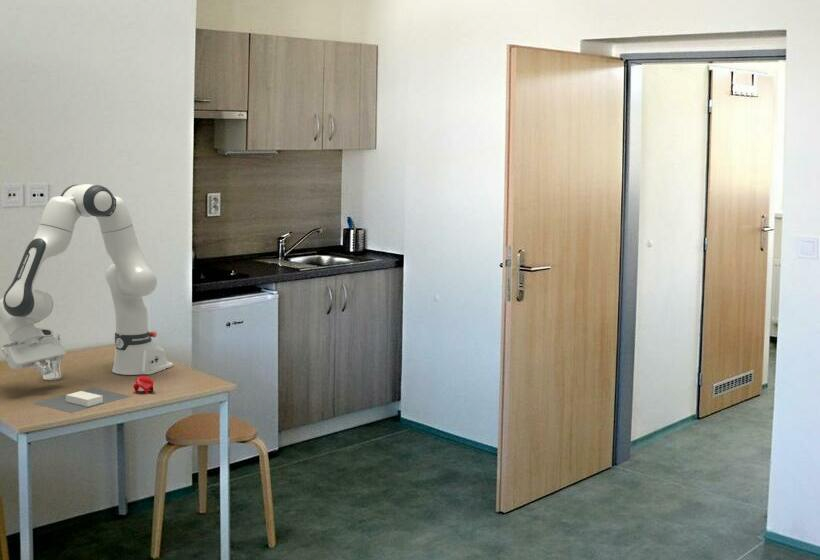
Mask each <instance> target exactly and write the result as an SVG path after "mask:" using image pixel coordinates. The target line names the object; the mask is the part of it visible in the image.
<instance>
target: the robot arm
mask: <svg viewBox="0 0 820 560" xmlns="http://www.w3.org/2000/svg"><path fill="white" fill-rule="evenodd" d="M80 217H85V218H86V217H87V218H89V217H94V218H96V220H97V222H98V225H99V228H100V232H101V236H102V240H103V243H104V246H105V251H106V253H107V255H108V256H109V258H110V259H111V260H112V262H113V263H112V264H111V265H109V266H108V268H107V269H106V272H105V280H106V283H107V284H108V286H109V289H110V293H111V297H112V302H113V306H114V311H115V333H114V343H115V351H114V359H113V361H114V362H113V364H112V365H113V366H112V370H111V372H112V373H113V374H117V375H123V376H126V375H127V376H135V375H136V376H137V375H138V376H139V375H153V374H155V373H159V372H161V371H164V370H166V368H167V369H169V368H172V367H174V363H173V362H171V361H168V360H167V353H166V351H165V349H164V348H162V347H161V346H159V345H158V344H157V343H156V342H155V341H153V339H152V338H156V337H157V336H158V333H157V332H156V331H148V330H149V329H148V325H149V324H148V323H149V321H148V320H149V319H148V308H147V307H146V305H145V302H144V300H143V297H146V296H149V295H151V294H153V293H154V291H155V290H156V287H157V284H158V280H157V279H158V278H157V276H156V274H155V273H154V272H153V271H152V270H151V267H150V266H149V264H148V262H147V259H146V258H145V255H144V254H143V251H142V249H141V247H140V245H139V242H138V238H137V235H136V231H135V228H134V224H133V220H132V217H131V214H130V212H129V209H128V207H127V205H126V202H125V201H124V200H123V198H121V197H120V196H115V195H113V193H112V192H111V190H110V189H109V188H107V187H105V186H103V185H101V184H100V185H99V184H93V183H92V184H91V183H83V184H72V185H69V186H68V187H66V188H65V189H64V190H63V191H62V192H61V194H60V195H59V196H54V197H51V198H50V199H49V200H48V201H47V204H46V206H45V208H44V210H43V212H42V214H41V217H40V220H39V224H38V228H37V230H36V233H35V235H34V237H33V239H32V240H31V241H30V242H29V243H28V245H27V247H26V249H25V251H24V253H23V256H22V258H21V261H20V263H19V265H18V267H17V271H16V273H15V276H14V278H13V280H12V282H11V284H10V285H9V287H7V289H6V291H5V293H4V294H3V297H2V298H1V299H0V326H1V328H2V329H3V331H4V332H5V333H7V335H8V339H9V341H10V342H9V343H5V344H3V346H1V352H3V354H4V356H5V359H6V363H8V366H9V368H10V369H11V370H13V371H16V370H17V371H18V370H21V369H25V368H29V367H33V368H34V369H35V370H37V371H38V372H40V374H41V375H42V376H43V375H46V374H50V373H51V372H52V369H51V368H50V362H52V361H57V360H61V361H62V360H63V359H64V357H65V356H66V352H67V351H66V348H65V347H64V345H63V344H61V343H62V341H61V342H60V341H59V340H58V339H57V338H56V337H54V336H53V335H54V334H55V333H54V331H53V330H52V329H45V328H40V327H36V325H35V324H37V323H39V322H40V321H43V320H44V319H46V318H48V317H49V316H50V314H51V313H52V311H53V308H54V300H53V298H52V296H51V295H50V294H49V293H48V292H45V291H42V290H38V289H34V284H35V282H36V279H37V276H38V273H39V271H40V269H41V266H42V265H43V263H44V262H45V261H46V260H47V259H49V258H52V257H56V256H59V255H61V254H63V253H64V252H66V251H67V249H68V248H69V246H70V244H71V242H72V238H73V234H74V230H75V227H76V226H75V225H76V223H77V221H78V220H79V218H80ZM44 366H45V368H44Z"/></svg>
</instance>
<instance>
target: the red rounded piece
mask: <svg viewBox="0 0 820 560" xmlns="http://www.w3.org/2000/svg"><path fill="white" fill-rule="evenodd" d="M139 388H141V389H142V390H143V391H144V393H145V394H149V391H150V390H151V391H150V392H152V391H154V380H153V379H151V377H148V376H145V375H141V376H138V378H136V380H135V382H134V384H133V390H134V391H135V393H138V392H139Z"/></svg>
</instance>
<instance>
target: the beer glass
mask: <svg viewBox="0 0 820 560" xmlns="http://www.w3.org/2000/svg"><path fill="white" fill-rule="evenodd" d="M53 336H54V337H56V338H57V339H58V340H59V341H60V342H61V344H62V335H61V334H57V333H54V335H53ZM62 345H63V344H62ZM61 361H62V359H61V360H57V361H52V362H50V368H51V369H52V372H51V373H50V374H46V375H42V380H43V381H44V380H45V381H56V380H61V378H62V373H61ZM43 367H44V368H45V366H43Z"/></svg>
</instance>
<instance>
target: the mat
mask: <svg viewBox="0 0 820 560" xmlns="http://www.w3.org/2000/svg"><path fill="white" fill-rule="evenodd" d="M79 391H80V390H79ZM79 391H77V392H79ZM81 391H84V392H88V393H92V394H97V395H101V396H103V403H101V404H98V405H94V406H90V407H85V406H81V405H76V404H72V403H68V402H66V395H68V394H69V393H67V394H63V395H60V396H56V397H52V398H48V399H45V400H40V401H37V402H33V405H38V406H40V407H46V408H50V409H54V410H57V411H62V412H67V413H70V414H72V413H76V412H80V411H83V410H87V409H90V408H95V407H97V406H101V405H104V404H109V403H112V402H116V401H119V400H124V399H126V398H130V397H131V395H126V394H123V393H120V392H119V393H117V392H113V391H109V390H103V389H101V388H100V389H99V388H95V387H90V388H87V389H83V390H81Z"/></svg>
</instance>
